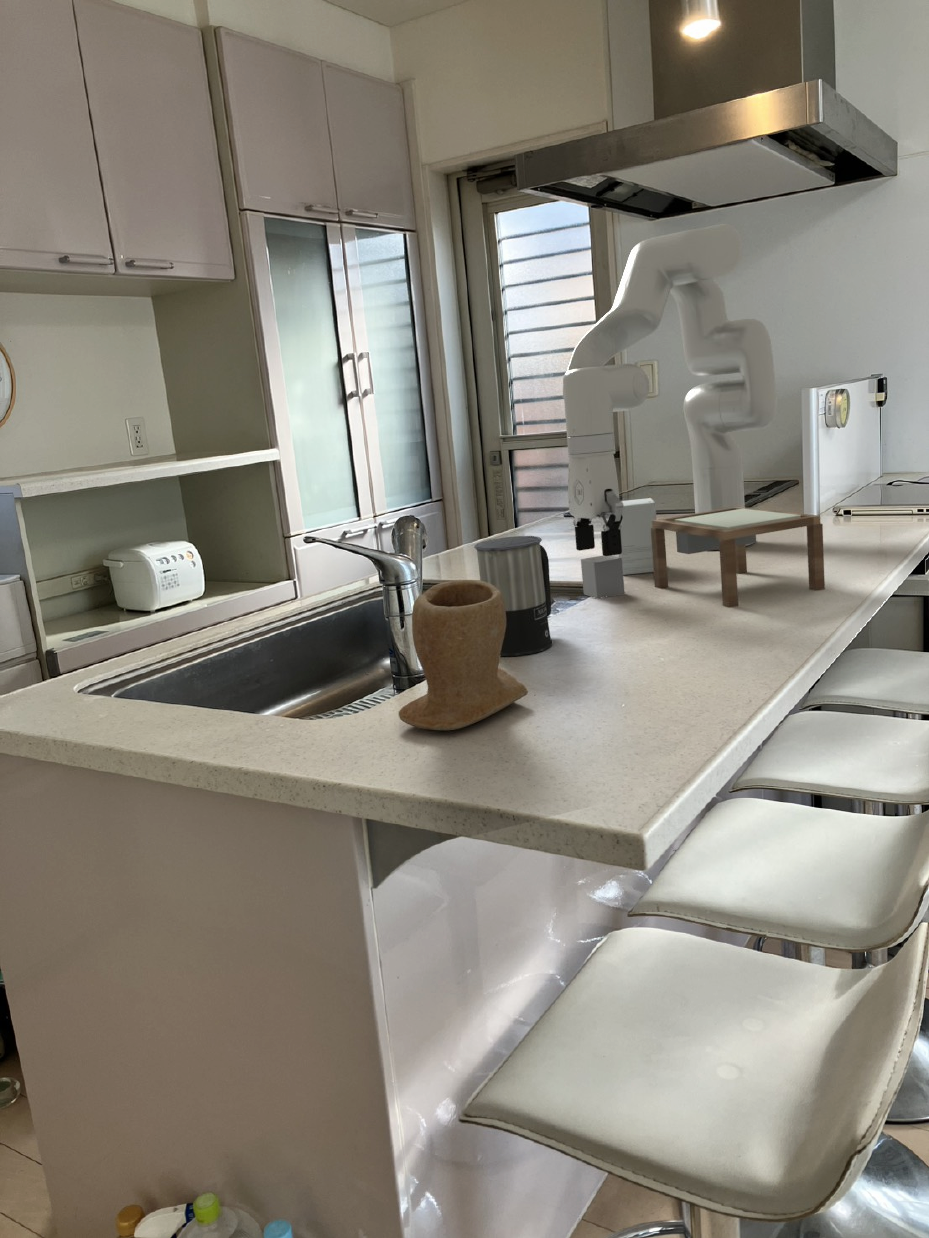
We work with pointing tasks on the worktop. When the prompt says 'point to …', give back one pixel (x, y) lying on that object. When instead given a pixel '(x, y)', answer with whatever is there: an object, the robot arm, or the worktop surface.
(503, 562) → the milk frother
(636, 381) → the robot arm
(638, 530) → the supplement box
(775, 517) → the trapdoor
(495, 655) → the stone cup
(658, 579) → the frame
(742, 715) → the worktop surface
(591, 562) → the grey near-cubic block
